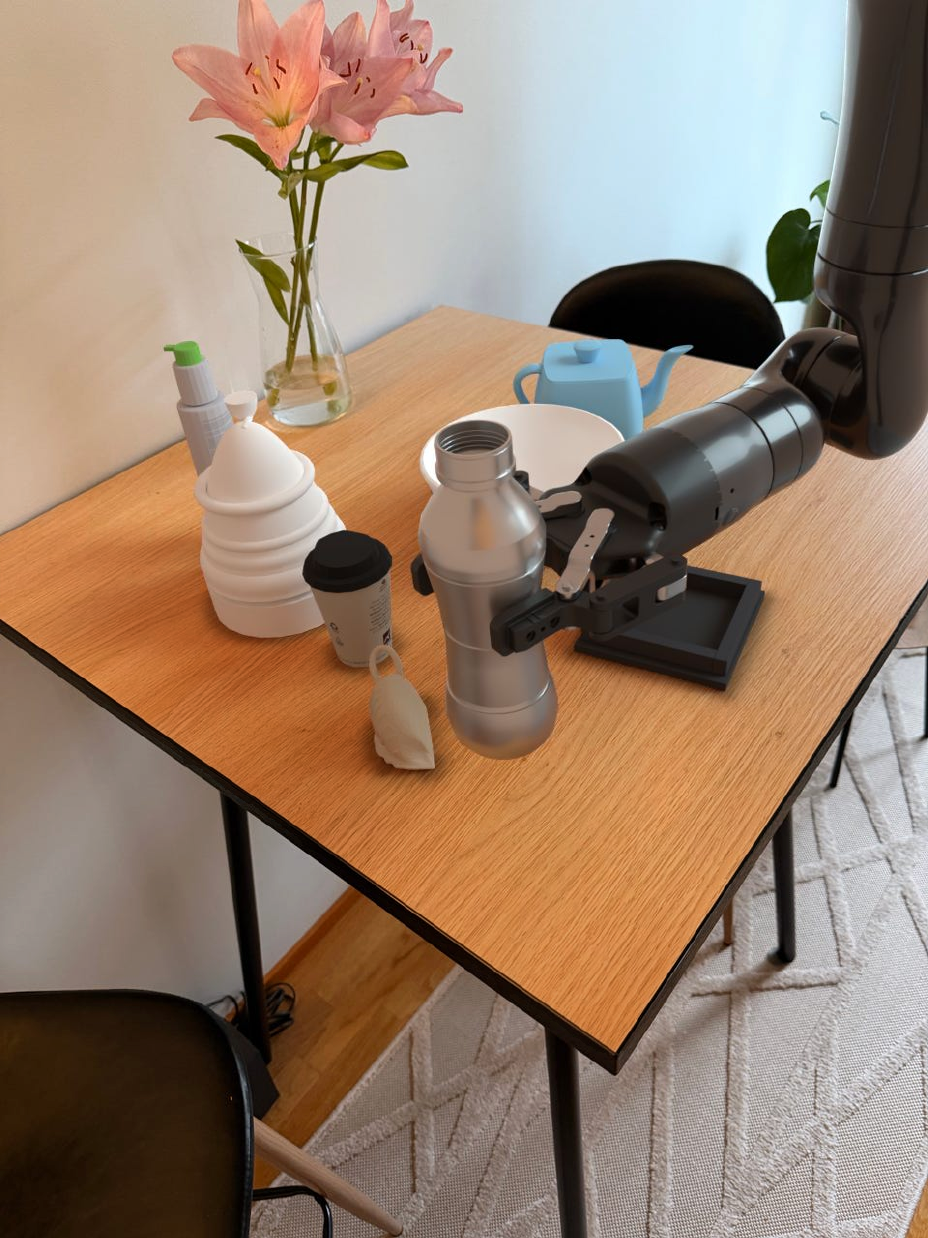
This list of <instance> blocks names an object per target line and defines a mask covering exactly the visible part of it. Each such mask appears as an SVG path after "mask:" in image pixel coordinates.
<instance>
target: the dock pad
mask: <svg viewBox="0 0 928 1238" xmlns="http://www.w3.org/2000/svg"><path fill="white" fill-rule="evenodd" d="M616 580H618V579H611V580H610V582H609V583H611V582H614V581H616ZM609 583H607V584H609ZM762 583H763V581H762V580H758V579H754V578H750V577H746V576H741V575H736V574H730V573H726V572H722V571H717V570H713V569H708V568H702V567H699V566H692V565H688V564H687V583H686V591H685V600H684V602H683V603H681V604H679V605H677V606H675V607H673V608H671V609H669V610H667V611H665V612H663V613H661V614H659V615H657V616H655V617H653V618H651V619H649V620H647V621H645V622H643V623H641V624H639V625H637V626H635V627H634V628H632V629H630V630H628V631H626V632H624V633H622V634H620V635H618V636H616V637H614V638H612V639H610V640H608V641H603V642H600V641H595V640H593V639H592V638H591V637H590V631H588V630H585V629H582V628H580V633H579V635H578V637H577V639H576V641H575V642H574V644H573V650H574V653H578V654H581V655H585V656H589V657H593V658H596V659H600V660H604V661H608V662H612V663H616V664H620V665H623V666H627V667H631V668H634V669H639V670H642V671H646V672H648V673H649V672H650V673H654V674H658V675H661V676H665V677H667V678H672V679H677V680H681V681H684V682H686V683H687V682H688V683H692V684H695V685H699V686H703V687H707V688H710V689H714V690H718V691H722V692H726V691H727V688H728V686H729V683H730V681H731V679H732V675H733V674H734V671H735V668H736V666H737V664H738V661H739V659H740V657H741V655H742V652H743V650H744V647H745V646H746V642H747V640H748V638H749V636H750V633H751V631H752V628H753V627H754V624H755V621H756V618H757V617H758V614H759V611H760V609H761V607H762V605H763V602H764V599H765V595H766V591H765V590H762ZM607 584H606V585H607ZM622 605H623V603H622V604H620V605H618V606H616V607H614V608H613V612H614V611H616V610H618V609H620V608H621V607H622Z"/></svg>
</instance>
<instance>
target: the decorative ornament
mask: <svg viewBox="0 0 928 1238" xmlns="http://www.w3.org/2000/svg"><path fill="white" fill-rule="evenodd" d="M382 651H383V652H386V653H388V654H389V656H390V658H391V659H392V662H393V664H394V673H390V674H387V675H385V676H383V677H382V676H381V675H380V673H379V671H378V668H377V667H378V666H377V664H376V658H377V655H378V654H379V653H380V652H382ZM369 672H370V675H371V677H372V680H373V681H374V683H375V685H374V686H373V688H372V691H371V695H370V697H369V704H368V705H369V707H368V709H369V719H370V720H371V722H372V726H373V730H374V732H375V734H374V739H373V741H374V744H375V752H376V754H377V755H378V757H380V758H382V759H383V760H384V762H385V763H386V764H388V765H393V767H394V768H395V769H402V770H403V769H404V770H435V769H436V765H435V763H436V762H435V753H434V751H435V750H434V744H433V738H432V732H431V725H430V719H429V713H428V708H427V706H426V704H425V703H424V701H423V699H422V697H421V696H420V694H419V692H418V691H417V689H416V687H414V685H413V684H412V683H411V682H410V681H409V680H408V679H407V678H405V677H404V665H403V662H402V660H401V657H400V656H399V654H398V652H397V651H396V650H395V649H393V647H392V648H391V647H389V646H387V645H379V646H377V647H376V648H374V649H373V651H372V653H371V655H370V659H369Z"/></svg>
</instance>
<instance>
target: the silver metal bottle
mask: <svg viewBox="0 0 928 1238" xmlns="http://www.w3.org/2000/svg"><path fill="white" fill-rule="evenodd" d="M444 427H445V426H444ZM442 428H443V427H442ZM442 428H441V429H442ZM439 430H440V429H439ZM439 430H438V431H439ZM434 448H435V456H436V462H435V474H436V478H437V480H438V481H439V482H440V483H441V484H440V485H439V487H438V488H437V489H436V491H435V492H434V493H433V495H432V494H431V496H430V498H429V500H428V502H427V504H426V505H425V507H424V509H423V511H422V512H421V514H420V518H419V523H418V532H417V541H418V546H419V550H420V553H421V554H422V558H423V560H424V564H425V567H426V570H427V572H428V575H429V578H430V581H431V584H432V587H433V590H434V593H433V594H434V596H435V599H436V603H437V606H438V610H439V614H440V620H441V625H442V628H443V633H444V641H445V643H444V644H445V658H446V660H445V661H446V679H445V689H444V695H445V696H444V710H445V714H446V717H447V720H448V723H449V725H450V727H451V730H452V732H453V734H454V736H455V738H456V739H457V740H458V741H459V743H460V744H462V746H464V747H465V748H467V749H468V750H470V751H471V752H473V753H474V754H476V755H479V756H480V757H482V758H487V759H489V760H495V761H496V760H497V761H511V760H517V759H520V758H524V757H526V756H528V755H530V754H533V753H534V752H536V751H537V750H538V749H539V748H541V747H542V746H543V745H544V744H545V743H546V742H547V740H548V739H550V737H551V736H552V734H553V732H554V730H555V725H556V722H557V716H558V711H559V697H558V692H557V688H556V684H555V681H554V679H553V675H552V673H551V670H550V667H549V664H548V663H549V662H548V657H547V652H546V651H547V650H546V645H545V641H544V640H543V641H541V642H540V643H538V644H535V645H534V646H533V647H531V648H530V649H528V650H526V651H523V652H519V653H515V652H513V653H512V654H510V655H508V656H506V657H503V656H501V655H500V654H499V653H497V652H496V651H495V650H493V649H492V646H491V637H490V622H491V620H492V619H493V618H494V617H495V616H496V615H498V614H500V613H501V612H503V611H505V610H507V609H508V608H510V607H512V606H514V605H515V604H517V603H519V602H521V601H522V600H524V599H526V598H528V597H529V596H531V595H533V594H535V593H536V592H538V591H540V590H542V589H543V588H542V586H543V577H544V570H545V569H544V568H545V566H544V560H545V548H546V524H545V522H544V519H543V517H542V514H541V512H540V510H539V507H538V505H537V504H536V502H535V501H534V500H533V499H532V497H531V496H530V495H529V494H528V493H527V491H526V490H525V489H524V488H523V487H522V486H521V485H520V484H519V483H518V482H517V481H516V480H515V479H514V478H513V476H514V475H515V472H516V458H515V456H514V454H513V440H512V435H511V432H510V430H509V429H508V428H507V427H506V426H505V425H503V424H501V423H498V422H495V421H490V420H467V421H461V422H457V423H454V424H451V425H449V426H447V427H445V428H443V429H442V430H440V431H439V432H438V433H437V435H436V437H435V441H434Z"/></svg>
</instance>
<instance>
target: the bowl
mask: <svg viewBox="0 0 928 1238" xmlns="http://www.w3.org/2000/svg"><path fill="white" fill-rule="evenodd" d="M467 420H490V421H495V422H498V423H501V424H503V425H505V426H506V427H507V428H508V429H509V430H510V432H511V435H512V440H513V454H514V456H515V458H516V471H518V470H522V471H526V472H527V473H528V474H529V485H530V486H532V487H535V488H537V489H539V490H542V491H544V492H545V491H547V490H549V489H552V488H557V487H562V486H567V485H570V484H572V483H573V482H574V481H575V480H576V479H577V478H578V476H579V475H580V474H581V472H582V471H583V469H584V468H585V466H586V465H587V463H588V462H589V461H590V460H591V459H592V458H593V457H595V456H596V455H598V454H600V453H602V452H604V451H606V450H608V449H610V448H612V447H614V446H616V445H618V444H620V443H622V442H624V441H625V440H624V438H623V436H622V434H621V433H620V431H618V430H617V429H616V428H615V427H614V426H613V425H612V424H611V423H609V422H608V421H606V420H604V419H603V418H601V417H599V416H597V415H594V414H592V413H589V412H587V411H583V410H579V409H576V408H572V407H566V406H559V405H551V404H534V403H530V404H520V403H519V404H518V403H517V404H510V405H503V406H502V405H501V406H496V407H491V408H487V409H482V410H479V411H476V412H473V413H469V414H466V415H464V416H462V417H460V418H457V419H456V420H453V421H451V422H449V423H448V424H446V425H445V426H443V427H442V428H440V429H438V430H437V431H436V432H435V433H434V434H433V435H432V436H431V437H430V438H429V439H428V440H427V441H426V443H425V445H424V446H423V448H422V450H421V452H420V457H419V460H418V463H419V470H420V474H421V476H422V477H423V478H424V480H425V482H426V483H427V484H428V487H429V488H430V492H431V496H432V495H433V493H434V492H435V491H436V489H437V488H438V487H439V485H440V484H441V483H440V482H439V481H438V480H437V478H436V474H435V462H436V456H435V448H434V441H435V437H436V435H437V433H438V432H439V431H440V430H442V429H443V428H445V427H447V426H449V425H451V424H454V423H457V422H461V421H467Z"/></svg>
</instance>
